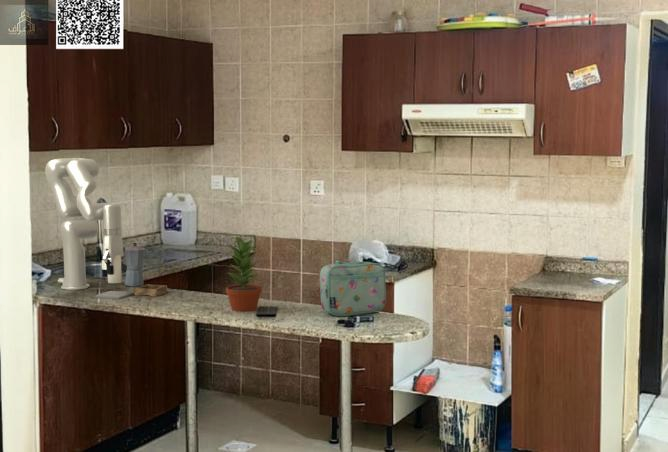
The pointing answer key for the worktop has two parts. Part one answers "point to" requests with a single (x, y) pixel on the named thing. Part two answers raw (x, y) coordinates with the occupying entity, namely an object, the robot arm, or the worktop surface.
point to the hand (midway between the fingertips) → (114, 272)
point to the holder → (151, 290)
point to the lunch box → (352, 288)
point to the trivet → (114, 294)
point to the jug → (117, 270)
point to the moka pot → (134, 265)
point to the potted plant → (243, 279)
